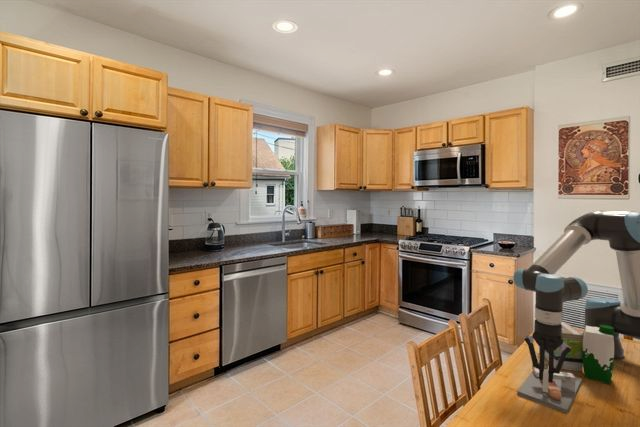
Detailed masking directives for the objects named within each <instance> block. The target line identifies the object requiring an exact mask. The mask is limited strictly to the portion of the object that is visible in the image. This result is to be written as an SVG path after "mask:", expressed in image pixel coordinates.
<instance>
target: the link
mask: <svg viewBox="0 0 640 427" xmlns="http://www.w3.org/2000/svg"><path fill="white" fill-rule="evenodd" d="M531 365H532V366H531V367H532V371H534V369H538V368H535V367H533V364H531ZM548 369H549V365H548ZM548 369H546V370H548ZM542 382H543V380H542ZM548 393H549V395H550V397H551V398H553V399H556V400H561V391H560V390H559V388H558V386H557V385H556V383H555V381H554V380H553V382H552V383H550V382H549V389H548Z"/></svg>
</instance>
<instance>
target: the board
mask: <svg viewBox="0 0 640 427" xmlns="http://www.w3.org/2000/svg"><path fill="white" fill-rule="evenodd" d="M574 377H575V392H567V391H564V390H563V388H562V387H561V380H559V379H553V380H554V381H555V383H556V385H557V386H558V388H559V390H560V391H561V400H556V399H553V398H551V397H550V395H549V393H547V392H544V391H543V382H542V380H540V379H539V377H537V376H536V375H535V373H534V371H533V370H532V371H531V372H530V373H529V375H528V377H526V379H525V380H524V382H523V383H522V384H521V386H519V388H518V390H517V391H516V394H517V395H518V396H521V397H523V398H526V399H528V400H531V401H533V402H536V403H539V404H540V405H541V404H542V405H544V406H546V407H548V408H552V409H555V410H557V411H560V412H562V413H565V414H568V413H569V410H570V409H571V406H572V404H573V402H574V400H575V398H576V395H577V393H578V391H579V389H580V387H581V385H582V383H583V377H582V378H581V377H578V376H575V375H574Z"/></svg>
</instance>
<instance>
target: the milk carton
mask: <svg viewBox="0 0 640 427" xmlns="http://www.w3.org/2000/svg"><path fill="white" fill-rule="evenodd" d="M584 327H585V326H584ZM583 332H584V331H583ZM582 363H583V373H584V378H585V379H586V380H591V381H595V382H599V383H602V384H606V385H609V386H610V385H611V381H612V377H613V374H614V367H615V366H614V363H615V359H614V328H613V327H611V326H608V325H600V326H599V328H598V327H591V326H586V327H585V332H584V337H583V349H582Z"/></svg>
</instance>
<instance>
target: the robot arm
mask: <svg viewBox="0 0 640 427" xmlns="http://www.w3.org/2000/svg"><path fill="white" fill-rule="evenodd" d="M563 232H564V233H563V234H561V235H560V237H558V238H557V239H556V240H555V241H554V242H553V243H552V245H550V246H549V247H548V248H547V249H546V251H544V252H543V253H542V255H540V256H539V257H538V259H536V260H535V261H534V262H533V263H532V264H531V265H530V266H529V267H528V268H527V269H526V268H518V269H517V270H516V271H515V272H514V273H513V275H512V276H513V278H512V280H513V283H514V285H515V286H517V287H518V288H520V289H523V290H525V291H530V292H535V305H534V318H535V319H534V324H533V325H534V329H533V330H534V331H533V333H532V335H526V336H525V338H524V342H525V343H526V344H527V346H528V350H529V355H530V359H531V363H532V364H533V367H535V368H538V369H539V379H540V380H543V391H544V392H547V393H548V389H549V382H550V383H552V382H553V374H554V373H557V374H559V373H560V372H561V370H562V369H561V368H562V365H563V362H564V360H565V357H566V355H567V354H568V353H569V352H570V351H571V346H569V345H566V344H565V343H564V342H563V339H562V325H561V324H560V323H562V322H563V308H564V307H563V305H564V303H566V302H571V301H572V302H573V301H578V300H581V299H583V298H586V296H587V295H588V292H589V290H588V289H589V288H588V285H587V283H586V282H585V281H584V280H583V279H581V278H580V277H576V276H569V277H564V276H560V275H557V272H558V271H559V270H560V269H561V268H562V267H563V266H564V265H565V264H566V263H568V261H569V260H570V259H571V258H572V257H573V256H574V254H576V253H577V252H578V251H579V250H580V249H581V248H582V246H584V245H588V244H589V243H591V241H594V240H600V241H608V243H609V247H610V249H611V250H613V251H614V252H615V254H616V262H617V266H618V267H617V268H618V273H619V279H620V285H621V292H622V296H623V297H622V298H623V303H621V300H619V299H617V298H616V299H615V298H606V297H591V298H588V299H586V300H585V303H584V304H585V305H584V330H583V332H582V334H583V335H584V332H585V327H586V326H591V327H598V328H599V326H600V325H608V326H611V327H613V328H614V360H615V359H616V360H617V359H623V358H624V355H625V354H624V353H625V351H624V348H623V346H622V342H621V339H620V335H623V336H626V337H629V338H633V339H636V340H639V341H640V212H639V211H632V210H631V211H619V210H618V211H615V210H612V211H610V210H595V211H592V212H588V213H586V214H585V213H584V214H583V215H580V216H579V217H577V218H576V219H574V220H572V221H571V222H570V223H568V225H566V227H565V228H564V230H563ZM534 341H535V342H536V345H537V346H538V348H539V347H540V352H539V362H538V357H537V352H536V350H535V345H534ZM560 346H562V348H561V349H562V353H561V355H560V358H559V361H558V363H557V366H556V368H555V367H554V350H556V349H557V348H558V347H560ZM545 349H548V350H549V361H548V366H549V369H548V370H546V369H544V364H545V361H546V358H545ZM532 364H531V365H532Z"/></svg>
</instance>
